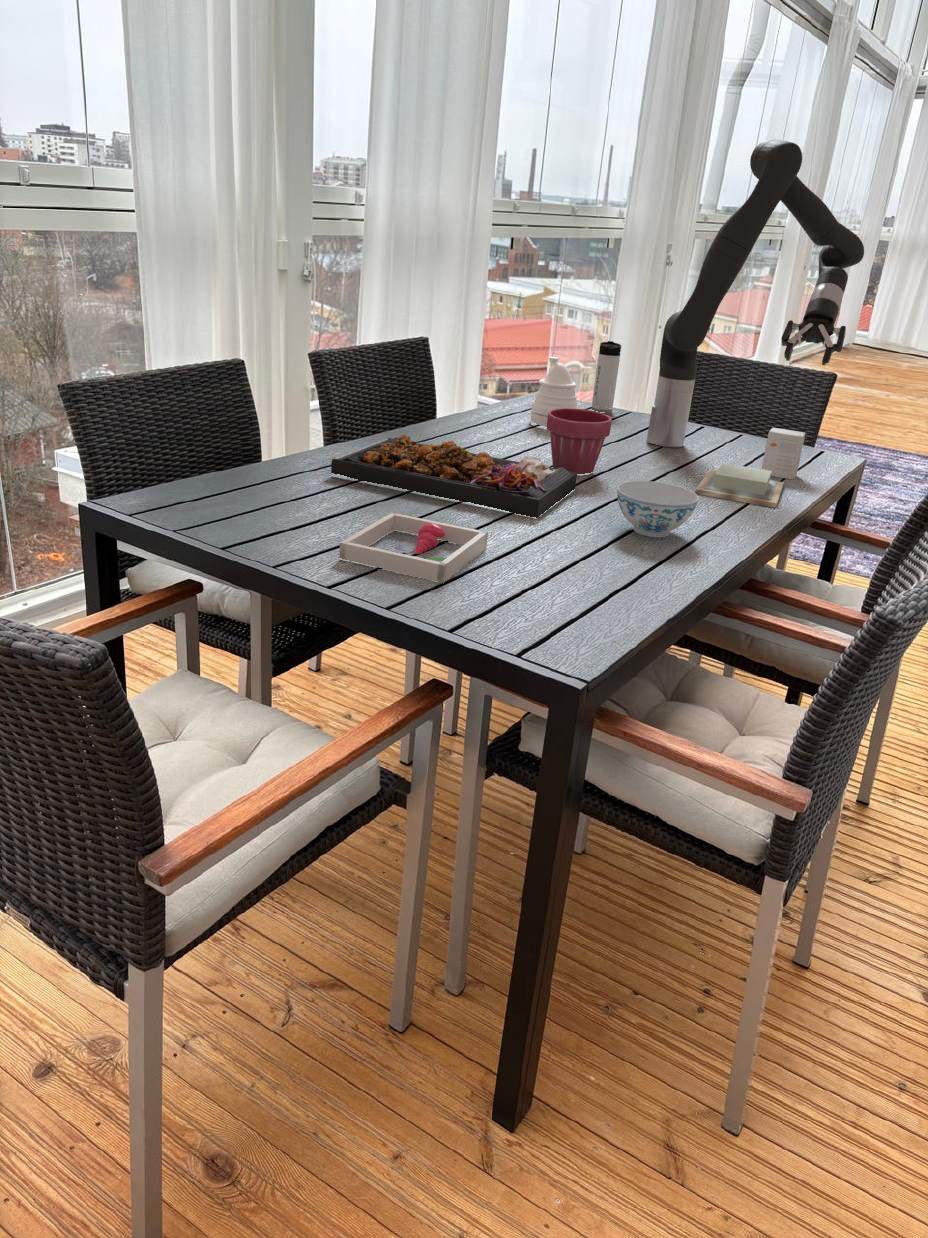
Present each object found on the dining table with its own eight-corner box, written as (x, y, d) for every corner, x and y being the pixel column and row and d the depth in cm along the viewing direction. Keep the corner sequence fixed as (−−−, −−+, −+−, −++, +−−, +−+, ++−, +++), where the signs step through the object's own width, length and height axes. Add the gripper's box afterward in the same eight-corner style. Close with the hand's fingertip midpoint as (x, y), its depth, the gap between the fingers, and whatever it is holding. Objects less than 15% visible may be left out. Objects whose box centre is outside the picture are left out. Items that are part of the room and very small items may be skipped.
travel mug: (611, 410, 286) (621, 341, 278) (612, 414, 280) (622, 344, 272) (590, 408, 287) (599, 339, 279) (591, 412, 281) (600, 342, 273)
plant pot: (574, 482, 207) (581, 423, 202) (528, 466, 216) (535, 410, 211) (616, 474, 216) (625, 418, 211) (571, 460, 225) (578, 405, 220)
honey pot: (527, 427, 254) (534, 358, 247) (532, 418, 266) (539, 352, 259) (575, 433, 253) (584, 364, 246) (577, 423, 265) (586, 357, 257)
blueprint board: (695, 493, 206) (696, 488, 206) (708, 473, 224) (709, 468, 223) (775, 507, 201) (776, 502, 201) (783, 486, 218) (784, 481, 218)
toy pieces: (388, 540, 163) (389, 516, 161) (452, 547, 163) (454, 522, 161) (378, 565, 152) (379, 539, 150) (447, 572, 152) (449, 546, 150)
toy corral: (339, 560, 152) (339, 542, 150) (391, 528, 168) (392, 512, 167) (442, 583, 146) (444, 565, 145) (486, 548, 162) (487, 532, 161)
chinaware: (674, 551, 170) (682, 509, 166) (598, 531, 176) (604, 491, 173) (702, 531, 181) (709, 492, 178) (629, 514, 188) (635, 476, 185)
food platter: (574, 493, 201) (581, 445, 197) (536, 522, 180) (542, 469, 176) (386, 456, 216) (388, 411, 212) (330, 480, 195) (332, 430, 191)
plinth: (712, 487, 209) (715, 474, 207) (720, 475, 219) (722, 462, 218) (763, 496, 205) (766, 482, 204) (769, 483, 215) (771, 470, 214)
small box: (796, 475, 229) (806, 432, 225) (793, 480, 225) (803, 436, 220) (763, 469, 232) (772, 426, 228) (759, 474, 228) (768, 430, 223)
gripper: (793, 293, 234) (775, 347, 230) (854, 299, 228) (836, 354, 224) (794, 314, 241) (776, 366, 237) (853, 319, 235) (835, 374, 231)
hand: (805, 360), depth 230 cm, fingers open, 8 cm apart
